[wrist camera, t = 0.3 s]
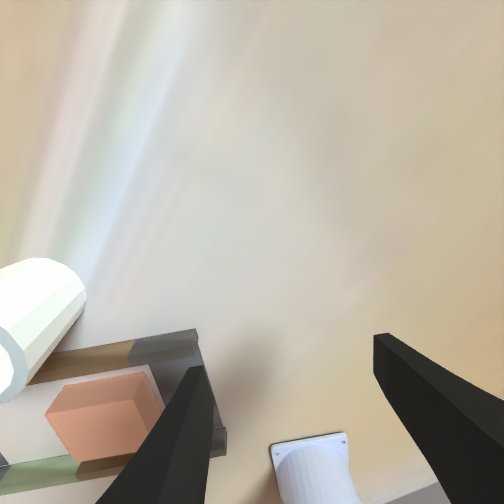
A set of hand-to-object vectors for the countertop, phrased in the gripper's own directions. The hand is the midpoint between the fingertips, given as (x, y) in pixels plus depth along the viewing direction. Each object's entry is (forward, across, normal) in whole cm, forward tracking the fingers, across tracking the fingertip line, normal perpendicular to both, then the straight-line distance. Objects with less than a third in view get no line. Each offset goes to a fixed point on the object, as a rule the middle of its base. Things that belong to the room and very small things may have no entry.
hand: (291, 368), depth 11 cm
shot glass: (+10, +16, -1) cm, 19 cm away
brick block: (+10, +15, +11) cm, 21 cm away
